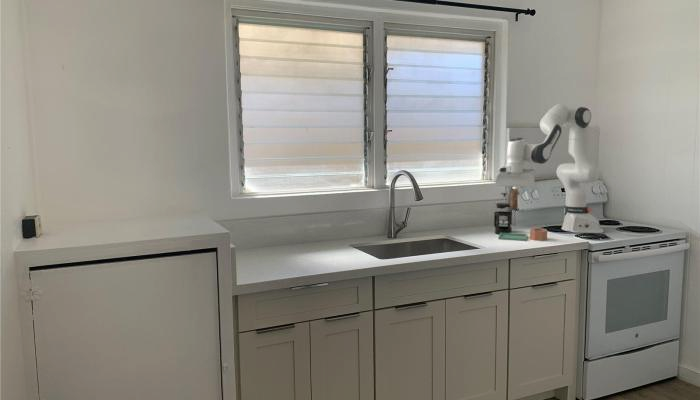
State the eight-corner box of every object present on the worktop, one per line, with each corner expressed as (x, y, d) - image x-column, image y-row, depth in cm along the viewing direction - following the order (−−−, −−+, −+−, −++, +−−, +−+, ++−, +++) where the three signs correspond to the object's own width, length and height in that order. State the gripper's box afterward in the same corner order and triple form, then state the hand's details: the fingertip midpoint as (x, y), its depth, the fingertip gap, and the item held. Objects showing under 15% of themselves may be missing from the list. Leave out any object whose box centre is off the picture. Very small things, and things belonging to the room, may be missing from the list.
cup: (546, 239, 284) (547, 228, 283) (546, 243, 276) (547, 231, 276) (530, 238, 287) (530, 227, 286) (529, 242, 279) (530, 230, 278)
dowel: (517, 209, 285) (518, 189, 284) (517, 210, 282) (517, 189, 280) (510, 209, 286) (511, 188, 285) (510, 210, 283) (510, 189, 282)
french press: (516, 234, 301) (517, 193, 298) (504, 235, 296) (505, 194, 293) (500, 230, 311) (502, 191, 308) (488, 232, 307) (490, 192, 304)
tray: (526, 237, 290) (527, 234, 290) (525, 242, 277) (526, 239, 277) (500, 236, 295) (500, 232, 295) (498, 241, 282) (498, 237, 282)
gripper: (536, 168, 281) (535, 194, 282) (496, 168, 288) (495, 193, 289) (535, 169, 275) (534, 196, 277) (495, 168, 282) (494, 194, 284)
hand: (514, 194), depth 283 cm, fingers closed on dowel, 4 cm apart
